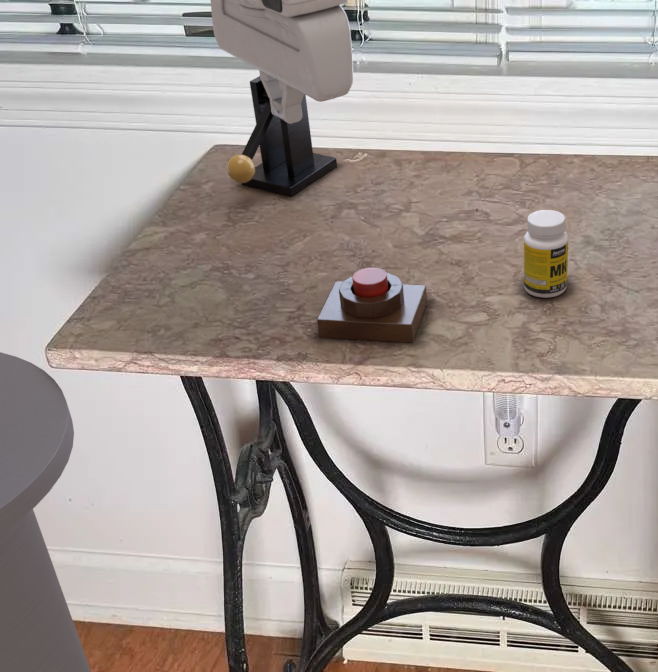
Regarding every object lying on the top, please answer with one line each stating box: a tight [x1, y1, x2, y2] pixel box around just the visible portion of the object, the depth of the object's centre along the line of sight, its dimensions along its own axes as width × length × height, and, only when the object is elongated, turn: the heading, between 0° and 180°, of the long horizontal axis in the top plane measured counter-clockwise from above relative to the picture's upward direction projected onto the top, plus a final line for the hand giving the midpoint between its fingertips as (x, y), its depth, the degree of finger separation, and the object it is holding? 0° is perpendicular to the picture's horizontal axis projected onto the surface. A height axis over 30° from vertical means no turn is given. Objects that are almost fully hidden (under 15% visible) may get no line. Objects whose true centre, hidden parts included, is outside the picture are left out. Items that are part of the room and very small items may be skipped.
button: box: [351, 267, 388, 298], centre depth 123 cm, size 4×4×2 cm
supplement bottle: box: [523, 209, 569, 299], centre depth 127 cm, size 5×5×8 cm
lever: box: [226, 90, 274, 184], centre depth 147 cm, size 14×3×3 cm
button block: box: [316, 272, 428, 343], centre depth 125 cm, size 10×8×4 cm
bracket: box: [241, 75, 338, 198], centre depth 150 cm, size 10×8×13 cm
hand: (287, 118), depth 115 cm, fingers closed
